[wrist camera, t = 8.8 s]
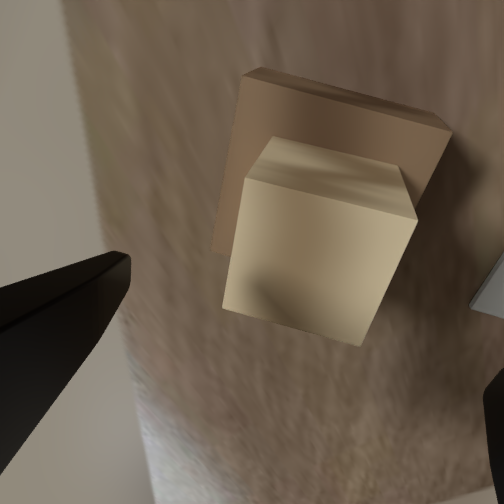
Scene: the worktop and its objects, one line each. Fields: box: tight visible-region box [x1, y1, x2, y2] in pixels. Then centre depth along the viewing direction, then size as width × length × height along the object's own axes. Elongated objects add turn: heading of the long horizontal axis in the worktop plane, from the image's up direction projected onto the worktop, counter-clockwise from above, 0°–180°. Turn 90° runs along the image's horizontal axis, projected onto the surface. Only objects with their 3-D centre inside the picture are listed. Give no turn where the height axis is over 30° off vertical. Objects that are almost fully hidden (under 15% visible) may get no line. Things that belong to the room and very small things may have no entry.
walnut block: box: [210, 67, 453, 257], centre depth 18 cm, size 8×8×4 cm
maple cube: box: [222, 136, 418, 347], centre depth 14 cm, size 5×5×5 cm
